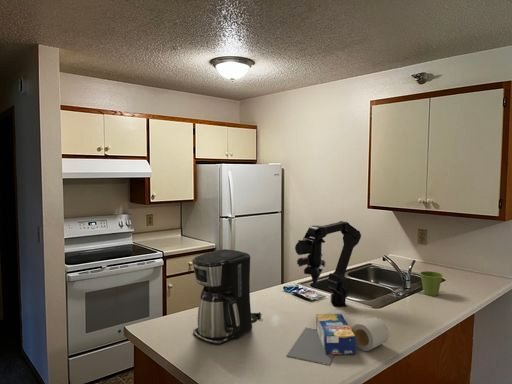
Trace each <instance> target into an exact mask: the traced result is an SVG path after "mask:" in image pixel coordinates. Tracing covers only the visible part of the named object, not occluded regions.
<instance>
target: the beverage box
mask: <svg viewBox="0 0 512 384" xmlns="http://www.w3.org/2000/svg"><path fill="white" fill-rule="evenodd" d="M315 316H316V318H315V321H316V323H315V324H316V328H315V329H317V332H318V335H319V337H320V340H321V343H322V345H323V348H324V351H325V353H326V354H334V355H356V345H355V335H354V333H353V332H352V328H351V327H350V325H349V323H348V322H347V321H346V319H345V317H344V316H343V314H342V313H316V315H315Z"/></svg>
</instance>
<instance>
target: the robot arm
mask: <svg viewBox="0 0 512 384" xmlns="http://www.w3.org/2000/svg"><path fill="white" fill-rule="evenodd" d="M337 232H338V233H339V232H340V233H341V234H342V240H343V241H342V242H343V246H342V249H341V253H340V254H339V258H338V261H337V264H336V268H335V270H334V271H333V272H332V273H331V272H330V273H329V275H328V277H327V281H326V282H327V283H326V284H327V287H328V290H329V292H331V294H330V304H331V305H332V306H333V307H347V304H346V298H347V297H346V295H348V294H349V292H350V289H349V288H348V286H346V283H347V280H346V276H345V275H346V271H347V269H348V265H349V262H350V259H351V256H352V253H353V250H354V248H355V247H356V246H357V245H358V244H359V242H360V240H361V238H362V234H361V231H360V230H358V229H357V228H355V227H354V226H353V225H351V224H350V223H349V222H348V221H343V220H342V221H341V220H339V221H338V222H332V223H329V224H326V225H310V226H309V227H308V229H307V231H306V233H305V235H304V236H303V238H302V239H299V240H298V241H297V243H296V244H295V246H294V249H295V252H296V254H297V255H298V256H302V255H307V256H304V257H299V258H298V259H297V261H296V265H298V267H300V268H301V267H302V266H306V267H305V268H304V269H303V274H304V275H310V276H311V279H312V284H313V285H314V286H315V285H317V283H318V280H319V279H320V276H321V274H322V272H323V268H325V267H326V261H325V260H324V259H322V257H323V253H322V248H323V247H322V244H325V243H326V241H325V240H324V238H326V237H327V235H329V234H333V233H337ZM321 267H323V268H321Z"/></svg>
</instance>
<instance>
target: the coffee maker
mask: <svg viewBox="0 0 512 384" xmlns="http://www.w3.org/2000/svg"><path fill="white" fill-rule="evenodd" d="M192 267H193V270H194V271H193V272H194V276H195V280H196V283H197V284H198V285H201V286H202V287H203V288H202V290H201V293H200V296H199V301H198V307H197V308H198V309H197V310H198V311H197V327H196V328H193V331H192V333H193V334H194V335H195V336H196V337H197V338H198V339H200V341H203V342H206V343H209V344H214V345H221V344H223V343H227V342H228V341H231V340H233V339H234V340H238V339H239V338H240V337H242V336H243V335H245V334H246V333H248V332H249V331H250V330H251V329H252V327H253V323H254V322H257V319H259V320H260V319H261V318H262V316H263V314H262V313H261V312H252V311H251V310H252V309H251V295H250V294H251V293H250V292H251V291H250V290H251V287H250V280H251V275H250V274H251V255H250V254H249V253H247V252H244V251H239V250H234V249H225V248H224V249H217V250H213V251H210V252H209V251H208V252H205V253H202V254H200V255H197V256H195V257H194V258H192Z"/></svg>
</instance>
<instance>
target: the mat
mask: <svg viewBox="0 0 512 384" xmlns="http://www.w3.org/2000/svg"><path fill="white" fill-rule="evenodd" d="M287 356H288V358H291V357H293V358H292V359H296V358H299V359H298V360H301V359H304V360H303V361H306V360H309V361H308V362H311V361H315V362H314V363H316V362H320V363H325V364H329V365H328V366H331V364H330V363H332V361H333V358H334V357H335V354H326V353H325V351H324V348H323V345H322V343H321V340H320V337H319V335H318V332H317V329H316V328H310V327H305V328H304V329H303V330H302V332H301V334H300V335H299V336H298V338H297V339H296V341H295V342H294V344H293V345H292V346H291V348H290V349H289V351H288V353H287V354H286V357H287ZM333 356H334V357H333ZM320 363H319V364H320ZM325 364H324V365H325Z"/></svg>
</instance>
